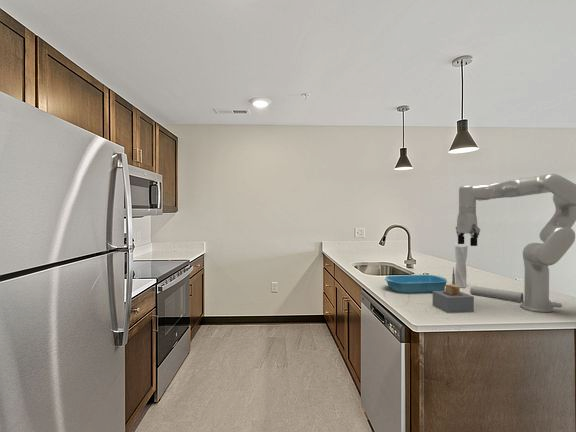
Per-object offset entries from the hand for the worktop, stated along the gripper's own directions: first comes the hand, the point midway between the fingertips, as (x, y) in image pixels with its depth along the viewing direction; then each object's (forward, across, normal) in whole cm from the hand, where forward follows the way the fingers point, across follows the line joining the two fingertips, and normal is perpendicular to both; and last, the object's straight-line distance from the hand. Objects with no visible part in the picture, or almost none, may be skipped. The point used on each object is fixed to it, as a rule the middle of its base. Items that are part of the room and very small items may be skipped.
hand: (467, 244), depth 167 cm
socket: (+30, +3, -10) cm, 32 cm away
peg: (+29, +4, -10) cm, 31 cm away
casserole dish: (+31, -36, -8) cm, 48 cm away
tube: (+31, -12, +25) cm, 41 cm away
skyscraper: (+31, -40, +23) cm, 55 cm away
